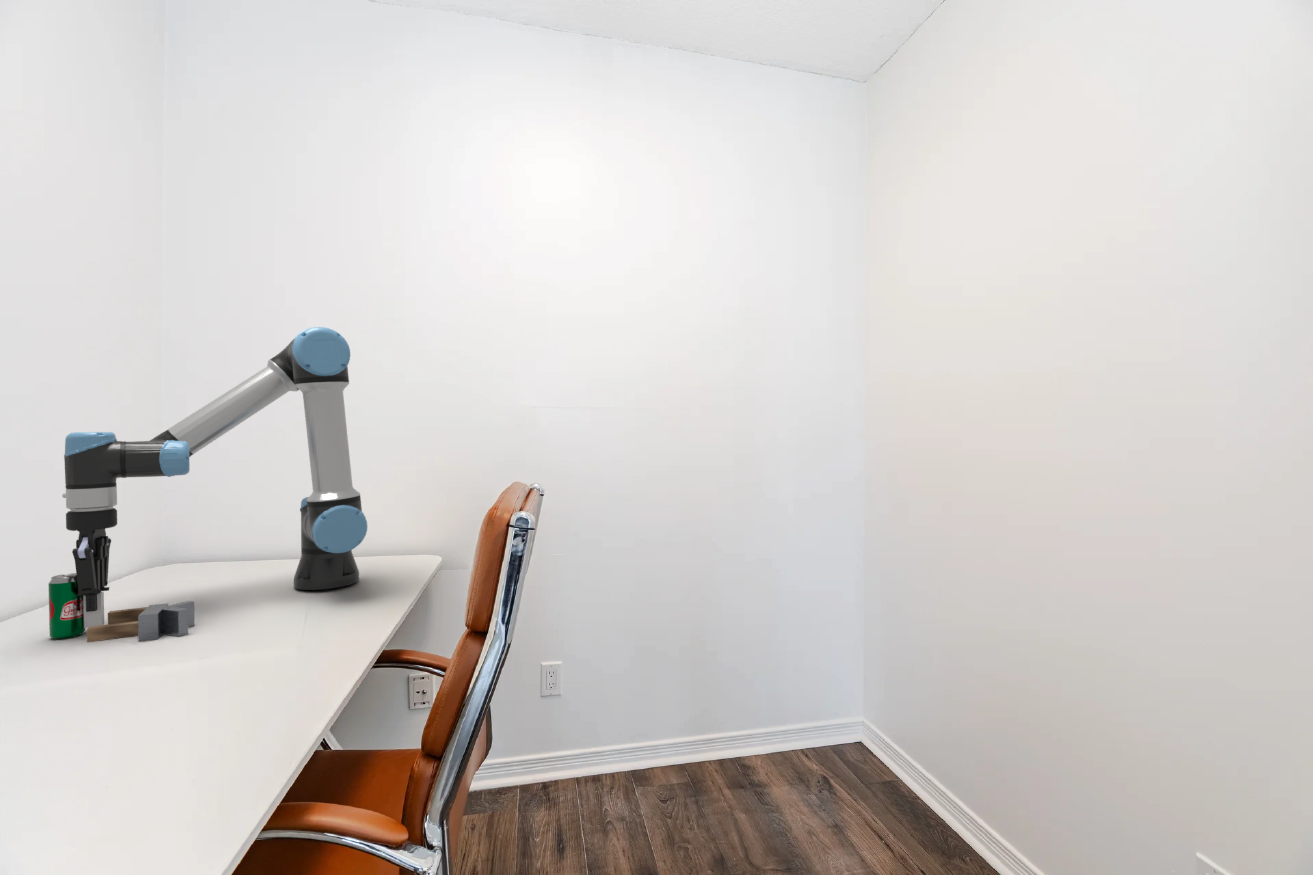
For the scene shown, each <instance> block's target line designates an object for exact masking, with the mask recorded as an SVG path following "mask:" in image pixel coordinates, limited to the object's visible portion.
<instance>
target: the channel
mask: <svg viewBox="0 0 1313 875" xmlns="http://www.w3.org/2000/svg"><path fill="white" fill-rule="evenodd" d="M147 607H148V606H145V607H143V606H142V607H136V608H126V609H125V608H124V609H117V610H115V609H114V610H110V611H108V612H107V624H104V625H100V626H92V627H89V628H87V629H86V642H87V643H90V642H98V641H106V640H107V641H108V640H113V639H115V640H116V639H123V638H129V637H138V615H140V614H141V613H142V612H143V611H144V610H145V609H146V608H147Z"/></svg>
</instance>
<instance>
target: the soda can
mask: <svg viewBox="0 0 1313 875" xmlns="http://www.w3.org/2000/svg"><path fill="white" fill-rule="evenodd" d="M77 594H78V583H77V575H76V572H75V573H74V572H73V573H64V574H59V575H54V576H52V577H50V581H49V582H48V620H49V621H48V622H49V623H48V624H49V625H48V626H49V627H48V628H49V638H51V639H53V640H56V641H57V640H67V639H72V638H76V637H79V636H82V635H83V634H84V633H85V631H86V628H84V604H83V596H77Z"/></svg>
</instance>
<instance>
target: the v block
mask: <svg viewBox="0 0 1313 875" xmlns="http://www.w3.org/2000/svg"><path fill="white" fill-rule="evenodd" d="M146 607H147V608H146V609H145V610H144V611H143V612H142V613H141V614H140V615H138V636H137V637H138V639H137V640H138V642H147V641H153V640H159V639H160V638H161V637H162V636H163V635H164V636H171V637H178V638H179V637H182V636H185V635H189V628H191V627H194V626H195V601H193V600H192V601H191V600H185V601H183V602H178V603H174V604H171V605H169V603H168V602H166V603H157V604H150V605H148V606H146Z"/></svg>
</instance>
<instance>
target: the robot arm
mask: <svg viewBox="0 0 1313 875" xmlns="http://www.w3.org/2000/svg"><path fill="white" fill-rule="evenodd" d="M350 361H351V349H350V346H349V344H348V342H347V340H346V339H345V337H344V336H343V335H341V333H339V332H337V330H334V329H331V328H329V327H324V326H313V327H310V328H306V329H303V330H302V331H300V332H299V333H298V334H297V335H296V336H295V337H294V338H293V339H292V340H291V341H290V342H289V343H288V344H287V346H286V347H284V348H283V349H282V350H281V351H280V352H279V353H277V354H276V355H275V356H273V357H272V358H269V360H267V366H266V367H264V368H263V369H260V370H258V371H257V372H256V373H255V374H253V375H251V376H249V377H248V378H247V379H245V380H243V381H242V382H240V383H238V384H237V385H236V386H234V387H231V389H229V390H228V391H226V392H225V393H223V394H221V395H220V396H218V397H217V398H215V399H214V400H212V401H210V402H208V403H207V404H205V405H204V406H202V407H201V408H199V409H198V410H196V411H195V412H192V413H191V414H190V415H188V416H186V417H185V418H183V419H181V420H180V421H178V422H177V423H175V424H174V425H172V426H170V427H168V429H166V430H164V431H163V432H161V433H160V434H158V435H156V436H155V437H153V438H151V439H150V440H145V441H143V440H140V441H138V440H137V441H125V440H124V441H121V440H117V436H116V433H114V432H112V431H111V432H110V431H91V432H90V431H89V432H88V431H85V432H81V431H80V432H77V431H74V432H70V433H69V434H67V435H66V437H65V441H64V442H65V443H64V455H63V458H64V479H65V480H64V481H65V485H64V486H65V492H64V493H62V495H61V496H62V498H63V499H65V507H66V509H68V510H69V511H67V512H66V513H65V527H66V530H68V531H70V532H75V531H76V532H78V539H76V542H75V547H76V548H73V549H72V551H71V552H72V556H73V558H74V559H73V560H74V565H75V573H76V575H77V583H78V594H77V596H83V604H84V628H85V629H86V628H87V629H88V628H89V627H92V626H100V625H105V593H104V592H107V591H110V586H108V584H109V582H108V581H109V580H108V578H109V566H110V565H109V563H110V562H109V561H110V548H111V543H112V538H110V537H109V536H108V535H107V532H106V529H111V528H114V527H116V526H117V525H118V510H117V509H116V506H117V505H118V492H117V491H118V488H117V479H119V478H122V479H125V478H126V479H127V478H150V477H151V478H154V477H155V478H156V477H169V478H170V477H174V476H175V477H176V476H185V475H188V474H189V473H190V469H191V468H190V458H191V457H192V456H193V455H195V454H196V453H197V452H199V451H200V450H202V449H204V448H205V447H207V446H209V444H211V443H213V442H215V441H216V440H217V439H219V438H220V437H222V436H223V435H225V434H227V433H228V432H230V430H232V429H234V428H236V427H238V425H240V424H241V423H243V422H245V421H246V420H248V419H249V418H251V417H252V416H253V415H255V414H257V413H258V412H260V411H261V410H263V409H264V408H266V407H268V406H269V405H270V404H272V403H273V402H275V401H277V400H278V399H280V398H281V397H283V396H284V395H286V394H287V393H288V392H298V391H300V392H301V393H302V398H303V407H304V408H303V409H304V417H305V427H306V438H307V446H308V448H307V449H308V456H309V457H308V458H309V463H310V465H309V466H310V467H309V468H310V473H311V474H310V475H311V483H312V493H311V494H310V495H309V496H307V497H306V496H305V497H303V498H302V499H301V502H300V508H299V512H300V538H301V539H300V546H301V547H300V548H301V551H300V552H301V553H300V554H301V555H300V558H299V562H298V565H297V568H296V570H295V573H294V576H293V588H295V589H297V590H304V591H305V590H306V591H310V590H311V591H312V590H313V591H317V590H329V589H334V588H341V587H346V586H349V585H352V584H355V583H357V582H358V581H359V580H360V571H359V568H358V565H357V562H356V560H355V557H354V555H353V550H354V549H355V548H357V547H358V546H360V545H361V544H362V542H363V541H364V540H365V537H366V535H367V532H368V521H367V518H366V516H365V513H364V512H363V509H362V508H363V507H362V500H361V493H360V492H359V491H358V490H357V489H355V487H353V478H352V468H351V459H350V458H351V457H350V456H351V455H350V450H349V449H350V448H349V447H350V446H349V440H348V439H349V437H348V428H347V418H346V409H345V400H344V399H345V398H344V391H345V389H346V388H347V387H348V386H349V385H350V378H349V368H348V365H349V363H350ZM114 507H115V508H114Z"/></svg>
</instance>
